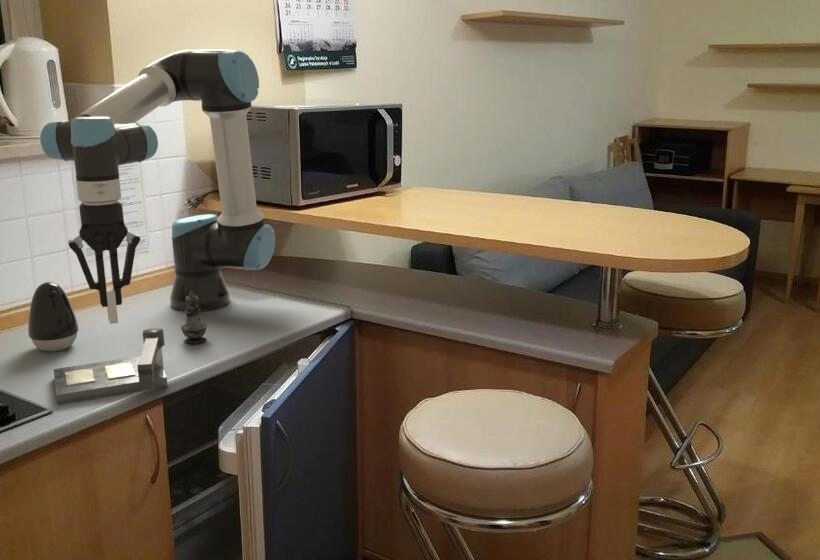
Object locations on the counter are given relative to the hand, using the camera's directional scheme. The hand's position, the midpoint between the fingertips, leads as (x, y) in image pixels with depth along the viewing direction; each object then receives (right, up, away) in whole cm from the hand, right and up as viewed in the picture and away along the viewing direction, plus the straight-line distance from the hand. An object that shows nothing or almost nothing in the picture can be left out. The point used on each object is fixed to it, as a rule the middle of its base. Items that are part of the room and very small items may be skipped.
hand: (113, 321), depth 153 cm
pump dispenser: (-22, -7, +23) cm, 33 cm away
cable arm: (+7, -10, 0) cm, 12 cm away
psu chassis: (-2, -13, +5) cm, 14 cm away
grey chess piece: (+8, -6, +28) cm, 30 cm away
